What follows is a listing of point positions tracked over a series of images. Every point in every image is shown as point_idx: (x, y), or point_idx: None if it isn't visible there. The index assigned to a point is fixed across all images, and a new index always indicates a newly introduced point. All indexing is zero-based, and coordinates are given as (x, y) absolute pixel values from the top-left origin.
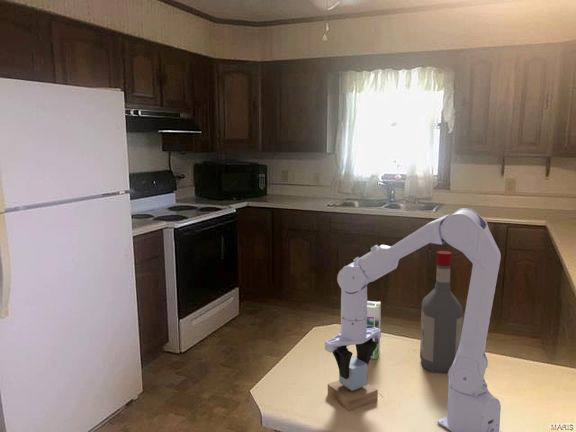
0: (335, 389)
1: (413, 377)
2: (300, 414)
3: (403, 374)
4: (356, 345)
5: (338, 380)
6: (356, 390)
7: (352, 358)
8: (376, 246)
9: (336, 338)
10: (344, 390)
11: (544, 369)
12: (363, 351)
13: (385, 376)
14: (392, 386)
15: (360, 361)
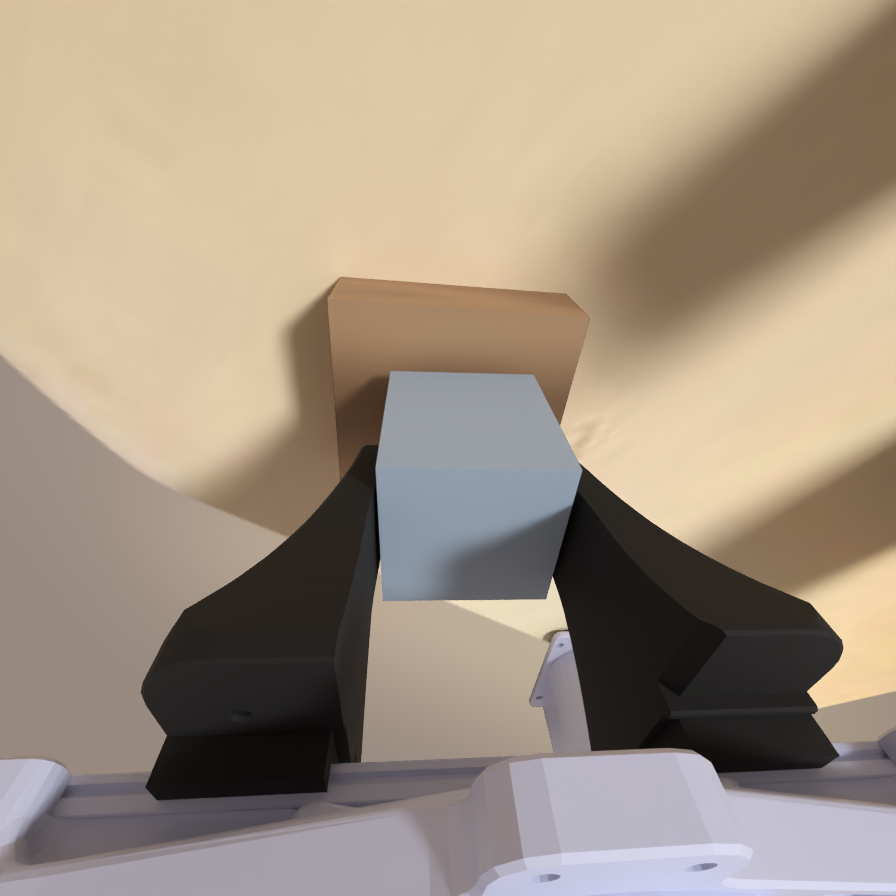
0: (335, 388)
1: (850, 420)
2: (78, 356)
3: (865, 371)
4: (644, 591)
5: (432, 306)
6: None
7: (536, 487)
8: None
9: (203, 886)
10: (378, 427)
11: None
12: (595, 643)
13: (788, 327)
14: (694, 423)
15: (539, 555)
